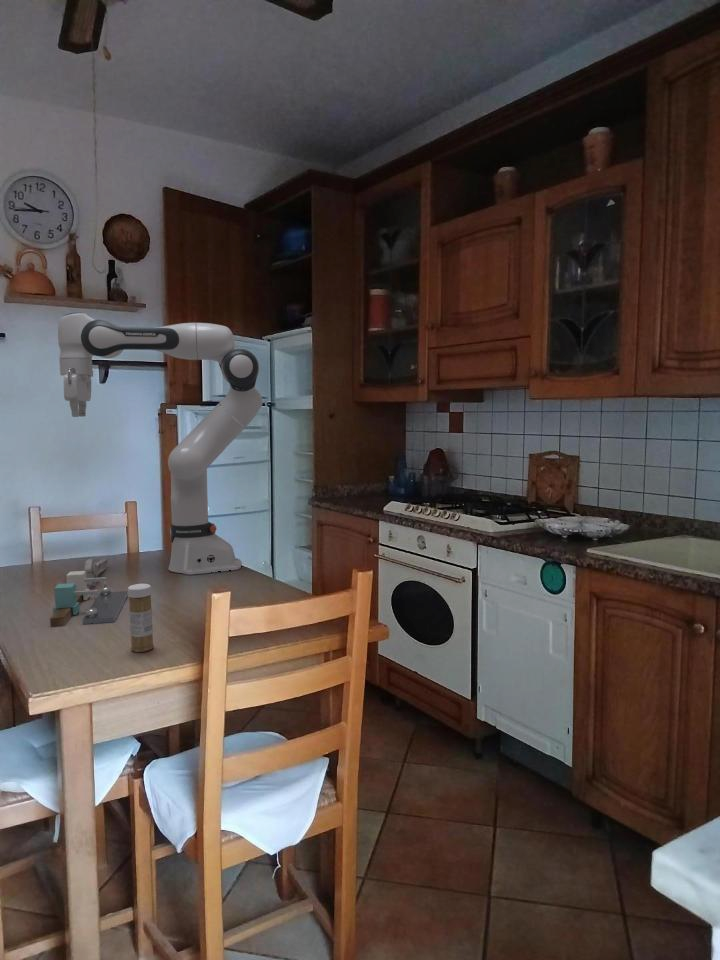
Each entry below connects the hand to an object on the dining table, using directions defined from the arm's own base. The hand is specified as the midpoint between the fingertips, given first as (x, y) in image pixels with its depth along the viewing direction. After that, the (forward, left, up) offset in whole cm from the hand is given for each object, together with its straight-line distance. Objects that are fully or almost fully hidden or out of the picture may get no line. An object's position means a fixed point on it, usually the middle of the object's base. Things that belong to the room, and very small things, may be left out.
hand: (79, 416), depth 201 cm
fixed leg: (-5, +29, -47) cm, 56 cm away
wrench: (-4, +6, -48) cm, 48 cm away
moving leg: (-5, +42, -47) cm, 63 cm away
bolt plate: (-12, +39, -48) cm, 63 cm away
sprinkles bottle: (-24, +72, -48) cm, 89 cm away
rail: (-3, +39, -48) cm, 62 cm away
